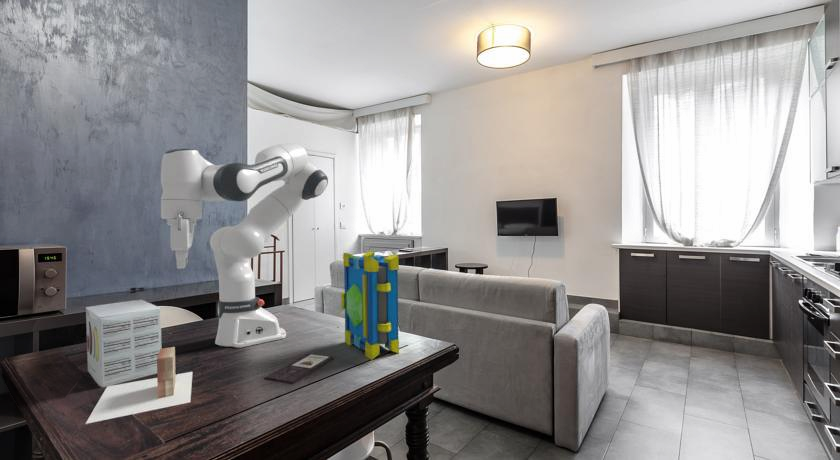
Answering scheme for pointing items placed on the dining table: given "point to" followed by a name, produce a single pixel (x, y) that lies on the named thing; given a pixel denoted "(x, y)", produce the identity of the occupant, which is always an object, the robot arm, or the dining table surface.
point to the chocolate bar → (299, 368)
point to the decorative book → (371, 302)
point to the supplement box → (122, 341)
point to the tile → (166, 372)
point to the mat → (139, 398)
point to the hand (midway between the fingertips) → (182, 266)
